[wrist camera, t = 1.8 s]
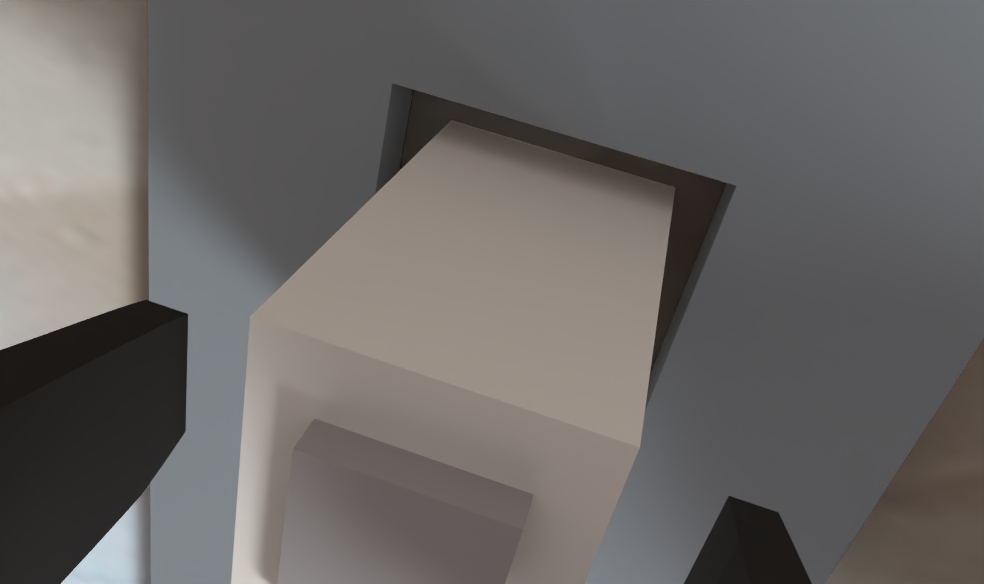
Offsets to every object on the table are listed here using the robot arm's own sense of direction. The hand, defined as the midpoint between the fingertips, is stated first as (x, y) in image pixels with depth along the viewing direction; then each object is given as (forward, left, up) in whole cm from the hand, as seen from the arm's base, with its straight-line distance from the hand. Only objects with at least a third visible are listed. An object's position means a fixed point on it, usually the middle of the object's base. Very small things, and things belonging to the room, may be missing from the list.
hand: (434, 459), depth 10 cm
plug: (0, 0, -5) cm, 5 cm away
